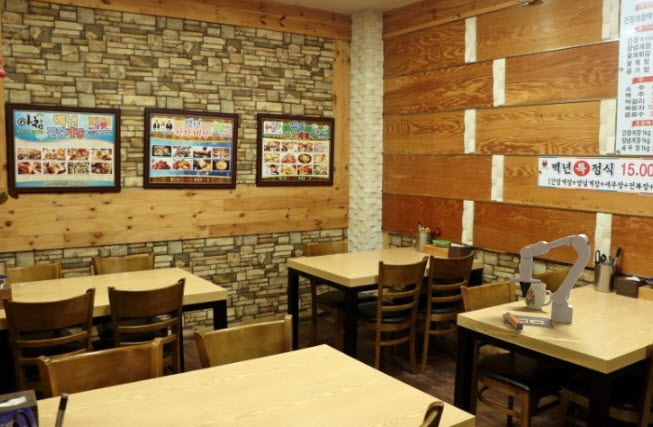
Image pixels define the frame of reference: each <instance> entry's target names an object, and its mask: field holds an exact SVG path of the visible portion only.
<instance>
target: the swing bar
mask: <svg viewBox="0 0 653 427" xmlns="http://www.w3.org/2000/svg"><path fill="white" fill-rule="evenodd" d="M514 315H515V314H512V313H511V314H507V320H508V321H509V322H510V323H511V324H510V325H512V326H513V327H514V328H516V330H518V331H522V330H523V329H524V325H523V323H522V322H520V321H519V320H518V319H517V318H516V317H515V316H514Z"/></svg>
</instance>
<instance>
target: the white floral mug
mask: <svg viewBox="0 0 653 427" xmlns="http://www.w3.org/2000/svg"><path fill="white" fill-rule="evenodd" d="M546 288H547V284H546V283H544V282H541V284H533V283H531V286H530V288H529V290H528V292H527V294H526V298H524V297H523V298H524V303H525V305H526V307H527V309H530V308H531V309H530V310H535V309H537V310H538V309H539V310H542V308H543V307H548V306H550V305H552V302H553V301H552V299H551V297H552V294H553V293H552V292H551V290H548V289H546ZM547 293H548V294H549V301H547V302H546V300H547Z"/></svg>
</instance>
